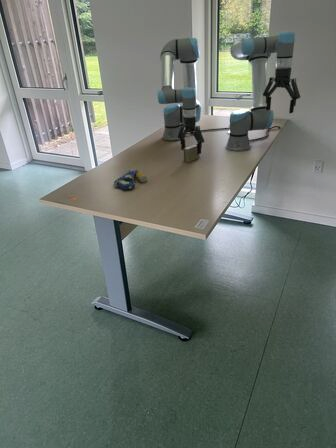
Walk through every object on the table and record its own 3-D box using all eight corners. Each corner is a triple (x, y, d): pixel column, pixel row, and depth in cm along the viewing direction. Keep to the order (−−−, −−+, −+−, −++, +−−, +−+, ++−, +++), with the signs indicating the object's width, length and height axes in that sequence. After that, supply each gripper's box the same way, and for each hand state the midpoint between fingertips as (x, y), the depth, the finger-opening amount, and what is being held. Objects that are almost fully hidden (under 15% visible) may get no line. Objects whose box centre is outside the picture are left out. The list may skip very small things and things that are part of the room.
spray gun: (153, 176, 189) (130, 173, 195) (152, 169, 186) (129, 167, 193) (134, 192, 173) (110, 189, 180) (133, 185, 171) (109, 182, 177)
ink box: (195, 156, 211) (194, 143, 207) (199, 158, 209) (199, 145, 204) (183, 161, 206) (182, 148, 202) (187, 162, 203) (187, 149, 199)
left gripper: (170, 115, 200) (172, 149, 211) (200, 120, 183) (201, 157, 194) (179, 112, 204) (181, 146, 215) (210, 117, 188) (210, 153, 198)
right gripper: (257, 67, 172) (255, 110, 183) (303, 69, 155) (297, 115, 166) (266, 65, 176) (263, 107, 187) (311, 67, 159) (305, 112, 170)
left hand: (191, 151), depth 205 cm, fingers open, 13 cm apart
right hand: (279, 111), depth 176 cm, fingers open, 13 cm apart
